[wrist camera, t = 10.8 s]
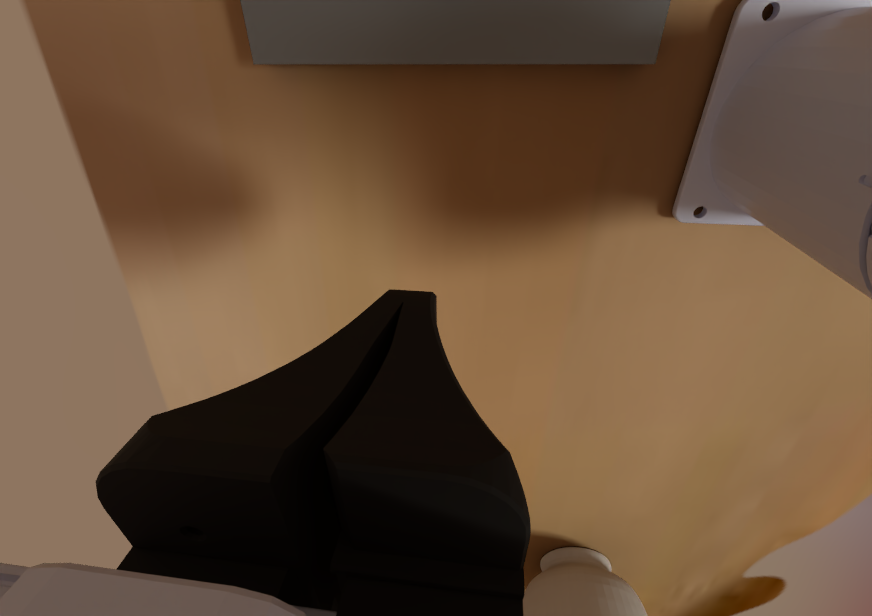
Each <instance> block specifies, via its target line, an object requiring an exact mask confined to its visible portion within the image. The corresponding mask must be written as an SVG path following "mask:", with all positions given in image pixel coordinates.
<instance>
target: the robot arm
mask: <svg viewBox="0 0 872 616" xmlns="http://www.w3.org/2000/svg"><path fill="white" fill-rule="evenodd" d="M769 3H770V4H772V6H773V13H772V15H771V16H770V18H768V19H767V20H766V21H765V20H763V18H762V11H763V10H764V8H765V7H766V6H767V5H768V4H769ZM701 206H703V210H702V212H701V213H699V214H698V215H693V212H694V211H695V209H696V208H698V207H701ZM672 214H673V216H674V217H675V218H676V219H677V220H678V221H679V222H683V223H706V224H732V225H758V226H766V227H767V228H769V229H770V230H772V231H773V232H775V233H776V234H778V235H779V236H781V237H782V238H784V239H785V240H786V241H788V242H789V243H791V244H792V245H794V246H795V247H797V248H798V249H800V250H801V251H802V252H804V253H805V254H807V255H808V256H810V257H811V258H813V259H814V260H816V261H817V262H819V263H820V264H821V265H823V266H824V267H826V268H827V269H829V270H830V271H832V272H833V273H835V274H836V275H838V276H839V277H840V278H842V279H843V280H845V281H846V282H848V283H849V284H851V285H852V286H854V287H855V288H856V289H858V290H859V291H861V292H862V293H864V294H865V295H867V296H868V297H870V298H871V299H872V0H742V1H741V3H740V4H739V5H738V6H737V8H736V10H735V12H734V15H733V18H732V21H731V24H730V28H729V31H728V34H727V37H726V40H725V44H724V47H723V50H722V53H721V56H720V60H719V63H718V66H717V69H716V72H715V75H714V79H713V82H712V85H711V88H710V91H709V95H708V98H707V101H706V104H705V107H704V111H703V114H702V117H701V120H700V123H699V126H698V130H697V133H696V136H695V139H694V142H693V146H692V149H691V152H690V155H689V158H688V162H687V165H686V168H685V171H684V174H683V177H682V181H681V184H680V187H679V190H678V193H677V197H676V200H675V203H674V206H673V210H672ZM96 487H97V494H98V498H99V500H100V502H101V504H102V505H103V507H104V509H105V510H106V512H107V513H108V514H109V515H110V517H111V518H112V520H113V521H114V522H115V524H116V525H117V526H118V527H119V529H120V530H121V531H122V533H123V534H124V535H125V536H126V538H127V539H128V541H129V542H130V543H131V545H132V546H133V547H132V549H131V550H130V551H129V553H128V554H127V555H126V557H125V558H124V560H123V561H122V562H121V564H120V565H119V567H118V568H117V569H116V570H115V569H108V568H102V567H94V566H88V565H81V564H73V563H43V564H40V565H36V566H33V567H25V566H18V565H10V564H4V563H0V616H523V598H524V570H523V567H524V562H525V557H526V553H527V548H528V544H529V539H530V529H531V528H530V517H529V512H528V507H527V502H526V498H525V495H524V491H523V488H522V485H521V482H520V479H519V476H518V473H517V470H516V468H515V465H514V462H513V460H512V457H511V454H510V452H509V451H508V450H507V449H506V448H505V447H504V446H503V445H502V443H501V442H500V441H499V440H498V439H497V438H496V436H495V435H494V434H493V433H492V432H491V430H490V429H489V428H488V427H487V425H486V424H485V423H484V421H483V420H482V419H481V417H480V416H479V415H478V413H477V412H476V410H475V409H474V407H473V406H472V404H471V402H470V401H469V399H468V398H467V396H466V395H465V393H464V391H463V390H462V388H461V386H460V384H459V382H458V381H457V379H456V377H455V375H454V373H453V371H452V368H451V366H450V364H449V362H448V359H447V357H446V354H445V351H444V348H443V346H442V343H441V339H440V336H439V332H438V328H437V312H436V295H435V294H434V293H433V292H424V291H407V290H388V291H387V292H386V293H385V294H384V295H382V296H381V297H380V298H379V299H378V300H377V301H375V302H374V303H373V304H372V305H371V306H370V307H368V308H367V309H366V310H365V311H364V312H363V313H361V314H360V315H359V316H358V317H357V318H355V319H354V320H353V321H352V322H350V323H349V324H348V325H346V326H345V327H344V328H342V329H341V330H340V331H338V332H337V333H336V334H334V335H333V336H331V337H330V338H329V339H327V340H326V341H325V342H323V343H322V344H320V345H319V346H317V347H315V348H314V349H312V350H311V351H309V352H307V353H306V354H304V355H302V356H300V357H299V358H297V359H295V360H294V361H292V362H290V363H288V364H286V365H284V366H282V367H280V368H278V369H276V370H274V371H272V372H270V373H268V374H266V375H264V376H262V377H260V378H258V379H255V380H253V381H251V382H248V383H246V384H244V385H241V386H239V387H237V388H234V389H231V390H229V391H226V392H224V393H221V394H219V395H216V396H213V397H210V398H208V399H205V400H202V401H199V402H196V403H192V404H189V405H186V406H183V407H180V408H177V409H174V410H170V411H167V412H164V413H161V414H157V415H154V416H152V417H151V418H150V419H149V420H148V421H147V422H146V423H145V424H144V425H143V426H142V427H141V428H140V429H139V430H138V431H137V433H136V434H135V435H134V436H133V437H132V438H131V439H130V440H129V441H128V442H127V443H126V444H125V446H124V447H123V448H122V449H121V450H120V451H119V452H118V453H117V454H116V455H115V457H113V459H112V460H111V461H110V462H109V463H108V464H107V465H106V466H105V467H104V468H103V469H102V471H101V472H100V474H99V475H98V478H97V480H96Z"/></svg>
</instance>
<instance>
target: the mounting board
mask: <svg viewBox="0 0 872 616" xmlns="http://www.w3.org/2000/svg"><path fill="white" fill-rule="evenodd" d="M240 1H241V6H242V10H243V15H244V20H245V25H246V29H247V34H248V39H249V44H250V49H251V53H252V58H253V63H254V64H655V63H656V59H657V54H658V50H659V46H660V42H661V38H662V34H663V30H664V26H665V21H666V17H667V13H668V9H669V5H670V1H671V0H240Z"/></svg>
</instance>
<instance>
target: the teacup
mask: <svg viewBox="0 0 872 616" xmlns="http://www.w3.org/2000/svg"><path fill="white" fill-rule="evenodd" d="M540 567H541V570H542V572H541V573H540V574H538V575H537V576H536V577H534V578H533V579H532V580H531V582H530V583H529V584H528V586H527V588H526V591H525V593H524V598H523V616H647V613H646V611H645V609H644V607H643V604H642V603H641V601H640V599H639V597H638V595H637V594H636V593H635V591H634V590H633V589H632V587H631V586H630V585H629V584H628V583H627V582H626V581H625V580H623V579H622V578H620V577H619V576H617V575H615V574H614V573H612V572H611V564H610V562H609V560H608V559H607V558H606V557H605V556H604V555H602V554H601V553H599V552H596V551H594V550H591V549H586V548H580V547H565V548H559V549H556V550H553V551H551V552H549V553H547V554H546V555H544V556H543V558H542V559H541V562H540Z"/></svg>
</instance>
